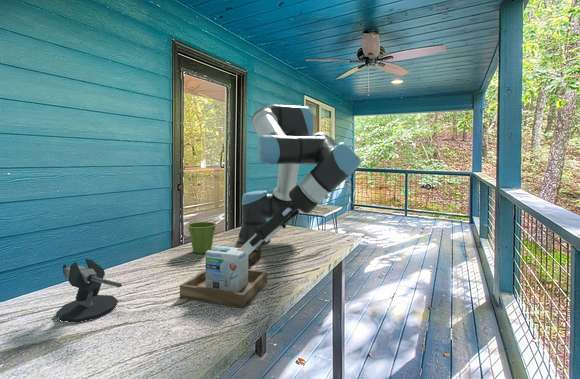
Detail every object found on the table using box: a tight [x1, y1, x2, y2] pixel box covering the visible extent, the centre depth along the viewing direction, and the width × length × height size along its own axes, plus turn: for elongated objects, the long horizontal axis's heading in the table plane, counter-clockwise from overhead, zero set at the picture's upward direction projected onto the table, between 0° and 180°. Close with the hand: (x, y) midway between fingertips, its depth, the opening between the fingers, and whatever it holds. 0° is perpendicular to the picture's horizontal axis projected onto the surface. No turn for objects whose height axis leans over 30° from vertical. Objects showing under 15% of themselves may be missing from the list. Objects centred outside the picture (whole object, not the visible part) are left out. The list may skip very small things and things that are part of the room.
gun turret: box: [55, 258, 123, 323], centre depth 72 cm, size 13×20×13 cm, turn 68°
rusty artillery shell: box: [248, 245, 262, 267], centre depth 108 cm, size 19×4×5 cm, turn 161°
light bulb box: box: [205, 245, 249, 292], centre depth 85 cm, size 11×7×11 cm, turn 73°
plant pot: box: [186, 221, 218, 254], centre depth 121 cm, size 12×12×11 cm
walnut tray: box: [179, 268, 268, 309], centre depth 86 cm, size 17×19×4 cm
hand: (254, 244), depth 82 cm, fingers open, 13 cm apart
